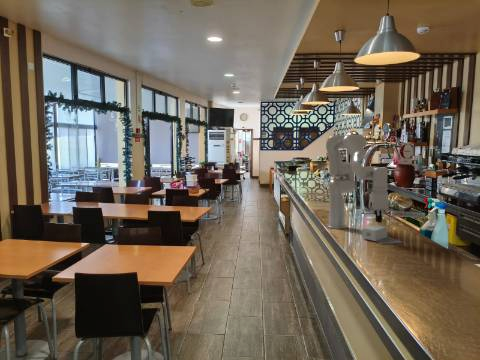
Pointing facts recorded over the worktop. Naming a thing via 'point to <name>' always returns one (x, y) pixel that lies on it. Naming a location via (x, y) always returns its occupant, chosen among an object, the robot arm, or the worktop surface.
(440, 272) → the worktop surface
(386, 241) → the mat
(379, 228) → the small box
